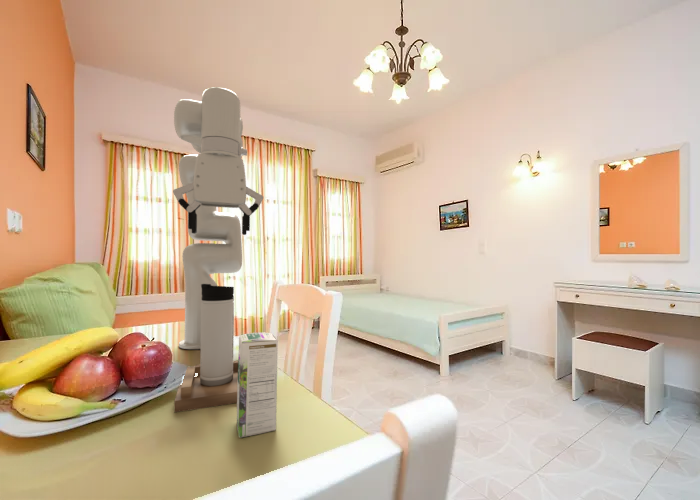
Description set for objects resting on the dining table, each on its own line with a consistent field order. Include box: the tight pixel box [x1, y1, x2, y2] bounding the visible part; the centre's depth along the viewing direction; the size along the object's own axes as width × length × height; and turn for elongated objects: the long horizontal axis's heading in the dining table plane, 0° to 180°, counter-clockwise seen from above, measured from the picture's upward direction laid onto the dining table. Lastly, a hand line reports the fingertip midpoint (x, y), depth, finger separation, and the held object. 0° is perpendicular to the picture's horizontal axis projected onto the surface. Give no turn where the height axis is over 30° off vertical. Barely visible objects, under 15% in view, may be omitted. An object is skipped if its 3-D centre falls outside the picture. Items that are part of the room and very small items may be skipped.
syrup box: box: [236, 332, 279, 438], centre depth 53 cm, size 6×6×14 cm
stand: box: [173, 360, 238, 413], centre depth 66 cm, size 14×14×4 cm
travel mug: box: [199, 284, 235, 386], centre depth 67 cm, size 6×7×20 cm
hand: (219, 233), depth 67 cm, fingers open, 9 cm apart
